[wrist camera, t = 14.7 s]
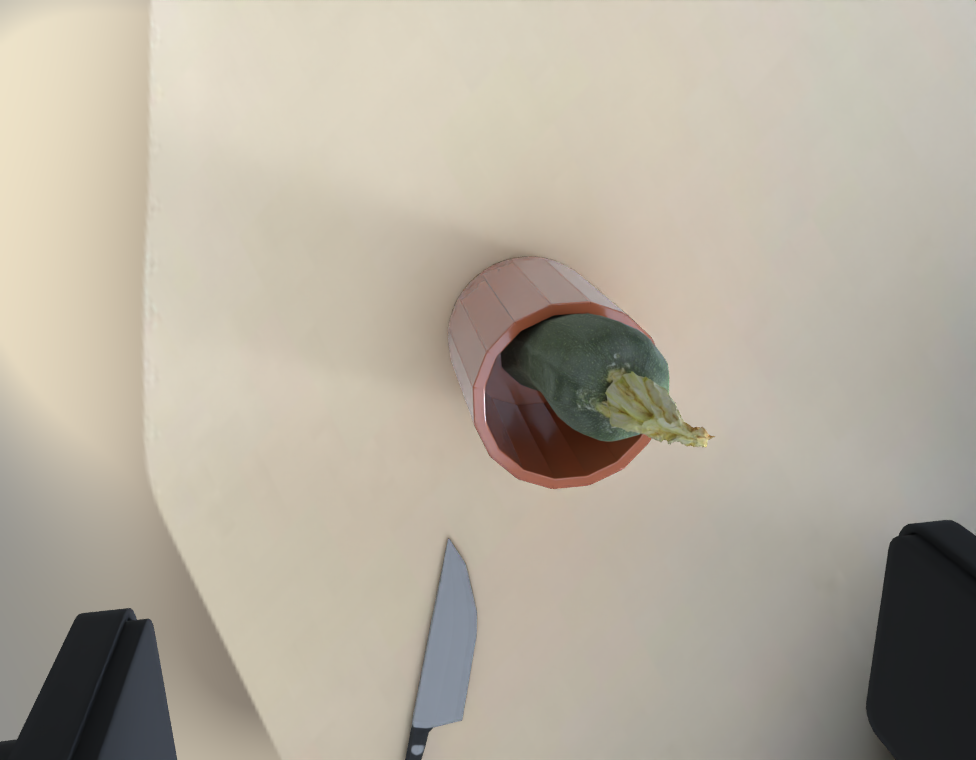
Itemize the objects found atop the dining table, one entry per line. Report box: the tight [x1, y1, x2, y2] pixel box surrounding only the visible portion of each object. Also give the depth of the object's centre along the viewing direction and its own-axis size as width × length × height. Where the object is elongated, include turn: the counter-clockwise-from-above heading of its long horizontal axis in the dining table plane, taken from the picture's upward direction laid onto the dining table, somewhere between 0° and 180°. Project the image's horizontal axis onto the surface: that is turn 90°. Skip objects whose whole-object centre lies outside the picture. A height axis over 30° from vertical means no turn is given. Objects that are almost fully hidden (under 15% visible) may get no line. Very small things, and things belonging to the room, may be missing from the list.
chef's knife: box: [405, 538, 477, 760], centre depth 51 cm, size 19×1×3 cm
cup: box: [448, 257, 655, 489], centre depth 41 cm, size 8×8×10 cm
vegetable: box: [501, 313, 715, 447], centre depth 35 cm, size 4×4×20 cm
